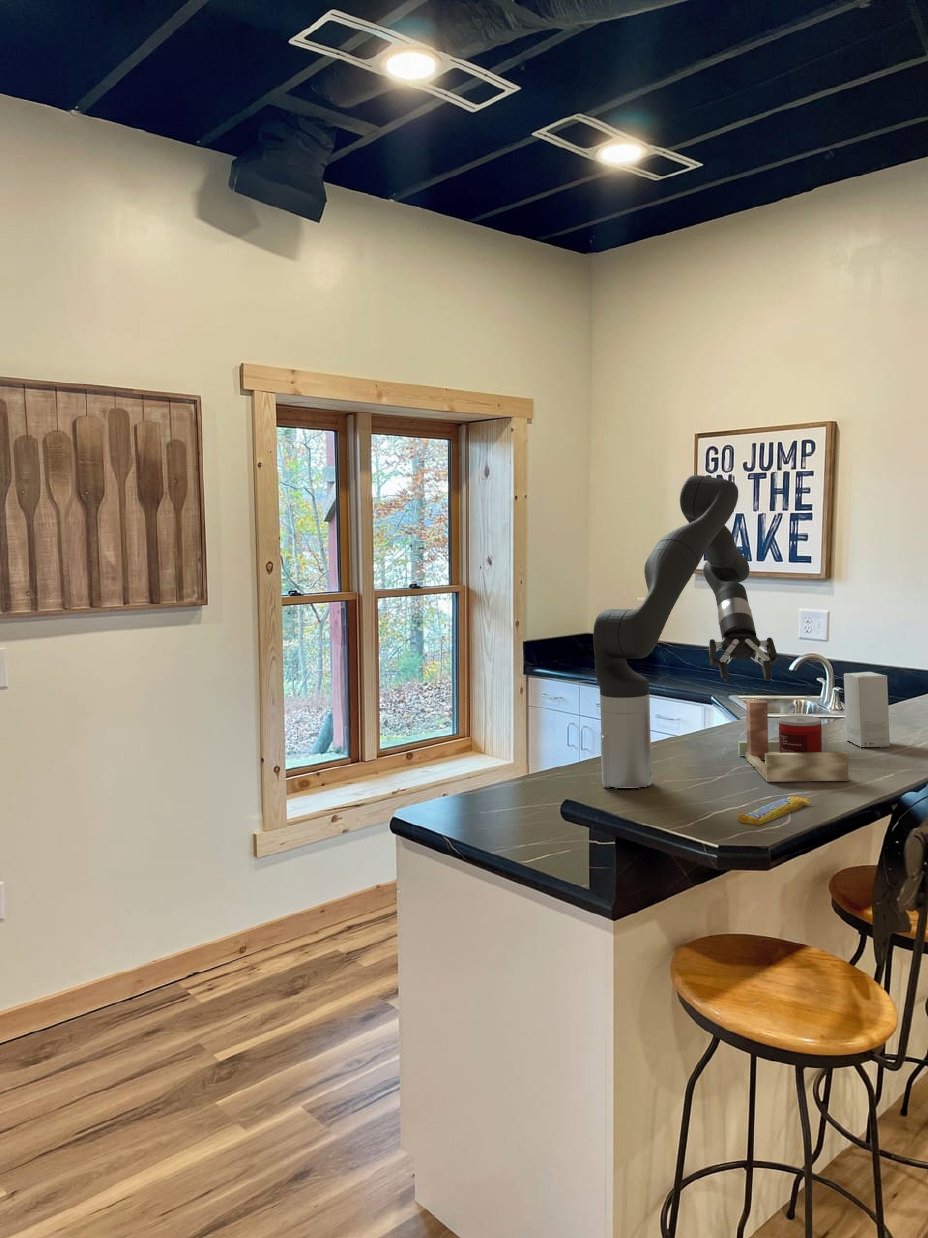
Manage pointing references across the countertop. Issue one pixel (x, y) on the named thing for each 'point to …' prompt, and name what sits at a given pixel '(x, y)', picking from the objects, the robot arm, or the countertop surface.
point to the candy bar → (773, 810)
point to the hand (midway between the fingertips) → (747, 678)
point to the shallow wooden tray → (788, 754)
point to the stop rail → (772, 746)
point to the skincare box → (867, 709)
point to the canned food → (800, 734)
